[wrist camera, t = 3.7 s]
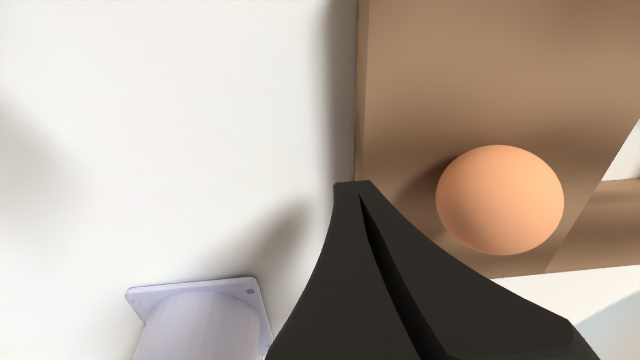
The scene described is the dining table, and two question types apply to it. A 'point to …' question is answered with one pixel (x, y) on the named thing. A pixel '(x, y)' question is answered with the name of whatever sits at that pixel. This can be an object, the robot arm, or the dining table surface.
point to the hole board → (504, 113)
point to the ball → (499, 200)
